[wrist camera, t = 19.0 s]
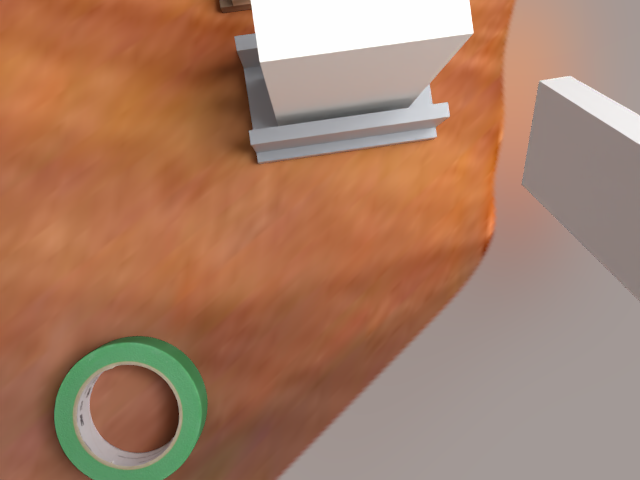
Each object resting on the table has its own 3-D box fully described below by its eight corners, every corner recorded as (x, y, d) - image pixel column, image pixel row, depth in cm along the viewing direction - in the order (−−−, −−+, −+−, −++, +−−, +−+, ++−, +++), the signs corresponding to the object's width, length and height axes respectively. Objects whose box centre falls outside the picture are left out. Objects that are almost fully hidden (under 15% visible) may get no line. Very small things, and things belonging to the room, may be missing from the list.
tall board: (278, 127, 40) (259, 62, 24) (271, 75, 40) (246, -26, 24) (406, 109, 40) (473, 33, 24) (399, 57, 40) (461, -54, 24)
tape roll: (103, 313, 41) (89, 319, 39) (230, 368, 42) (225, 379, 39) (46, 438, 41) (29, 453, 39) (174, 493, 42) (164, 511, 39)
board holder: (259, 164, 41) (252, 155, 36) (241, 49, 41) (232, 25, 36) (433, 139, 41) (451, 127, 36) (418, 25, 41) (433, -3, 36)
